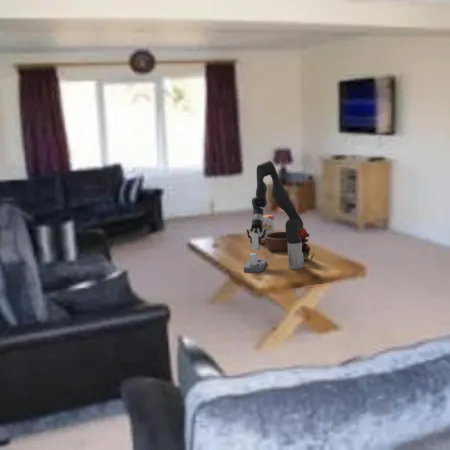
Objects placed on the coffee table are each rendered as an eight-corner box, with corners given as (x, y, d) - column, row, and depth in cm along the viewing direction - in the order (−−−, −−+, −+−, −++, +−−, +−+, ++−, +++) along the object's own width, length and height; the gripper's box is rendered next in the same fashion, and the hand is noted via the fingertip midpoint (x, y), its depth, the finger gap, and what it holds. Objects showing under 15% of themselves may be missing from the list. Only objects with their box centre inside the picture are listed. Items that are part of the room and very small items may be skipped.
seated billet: (251, 268, 445) (250, 252, 443) (258, 268, 444) (257, 252, 442) (250, 270, 441) (249, 254, 439) (256, 270, 440) (256, 254, 438)
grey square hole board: (249, 263, 460) (249, 259, 459) (266, 263, 457) (266, 259, 457) (243, 271, 439) (243, 267, 438) (261, 271, 436) (261, 267, 436)
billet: (253, 248, 454) (252, 232, 451) (259, 248, 453) (259, 232, 451) (252, 249, 449) (251, 233, 447) (258, 249, 448) (258, 233, 446)
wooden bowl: (299, 244, 508) (298, 231, 506) (299, 252, 483) (298, 238, 481) (266, 245, 510) (265, 232, 508) (264, 253, 486) (264, 239, 484)
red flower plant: (320, 258, 456) (311, 224, 449) (297, 266, 454) (288, 233, 447) (312, 252, 471) (303, 219, 464) (290, 260, 468) (281, 228, 461)
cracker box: (257, 244, 515) (256, 217, 511) (255, 242, 521) (254, 216, 517) (274, 242, 519) (273, 215, 515) (272, 240, 525) (271, 214, 521)
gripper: (246, 218, 456) (243, 240, 447) (267, 218, 453) (265, 240, 444) (248, 224, 462) (245, 246, 453) (268, 224, 459) (266, 246, 450)
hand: (255, 243), depth 448 cm, fingers closed on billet, 4 cm apart
